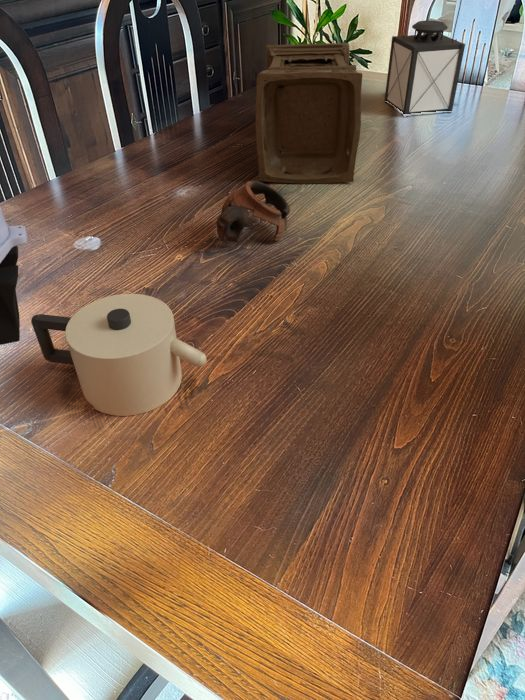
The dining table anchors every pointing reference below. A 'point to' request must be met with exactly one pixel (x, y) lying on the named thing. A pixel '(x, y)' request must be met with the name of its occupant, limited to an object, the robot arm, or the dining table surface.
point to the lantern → (424, 69)
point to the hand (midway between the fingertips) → (7, 336)
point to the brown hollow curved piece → (244, 200)
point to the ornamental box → (308, 114)
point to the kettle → (121, 352)
